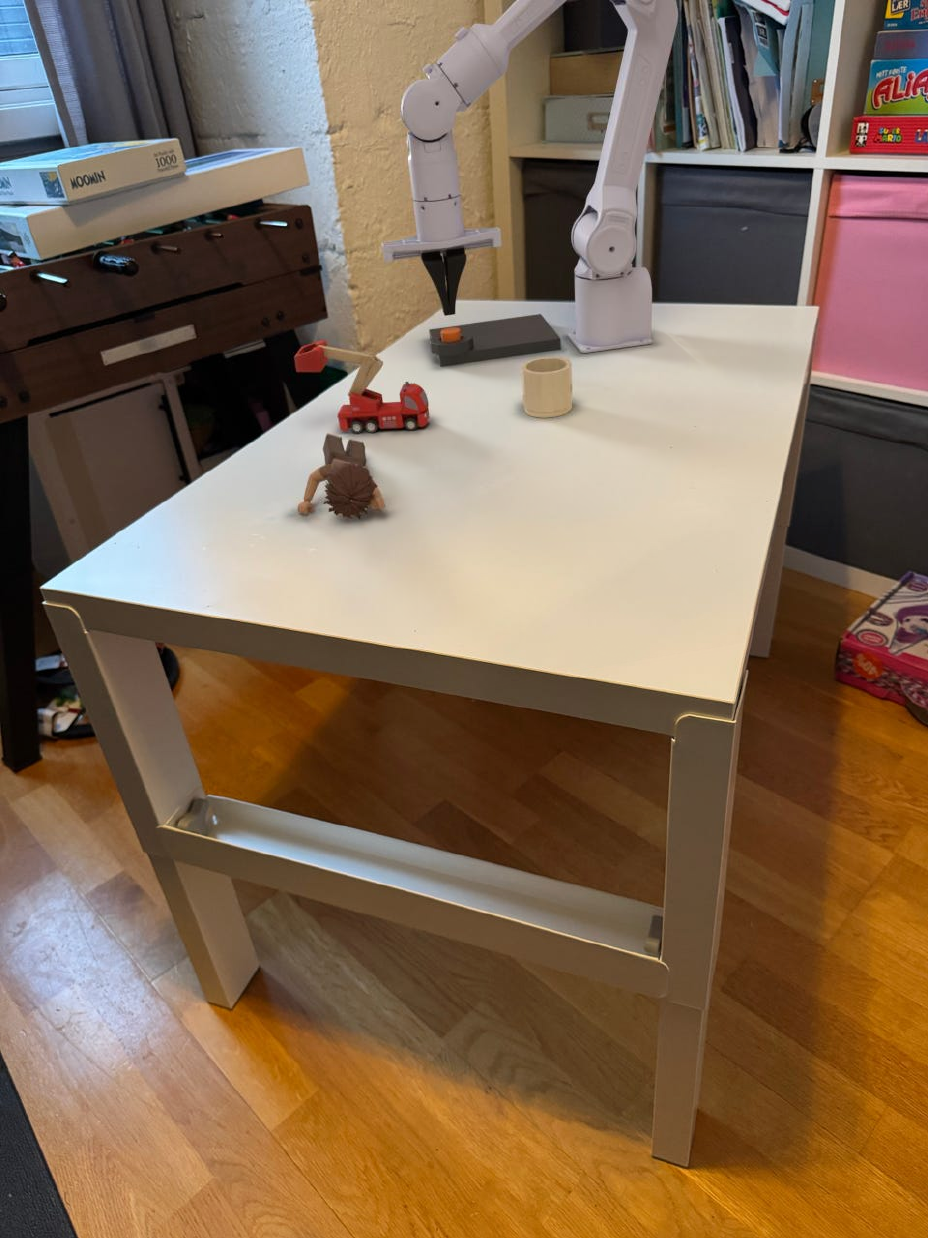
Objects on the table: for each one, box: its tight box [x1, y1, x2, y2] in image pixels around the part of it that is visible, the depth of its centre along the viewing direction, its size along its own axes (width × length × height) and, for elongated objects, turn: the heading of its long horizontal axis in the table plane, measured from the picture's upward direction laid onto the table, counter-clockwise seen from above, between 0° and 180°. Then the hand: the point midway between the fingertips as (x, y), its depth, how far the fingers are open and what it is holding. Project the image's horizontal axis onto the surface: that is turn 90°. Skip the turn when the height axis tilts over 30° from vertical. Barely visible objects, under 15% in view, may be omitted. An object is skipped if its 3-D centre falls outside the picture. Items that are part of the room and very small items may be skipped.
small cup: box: [520, 356, 574, 419], centre depth 98 cm, size 5×6×5 cm
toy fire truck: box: [293, 339, 431, 434], centre depth 97 cm, size 3×14×10 cm, turn 84°
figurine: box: [297, 432, 386, 520], centre depth 85 cm, size 8×5×15 cm
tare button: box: [441, 326, 461, 342], centre depth 114 cm, size 3×3×1 cm
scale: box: [428, 313, 562, 368], centre depth 118 cm, size 17×13×3 cm
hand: (449, 312), depth 112 cm, fingers closed
